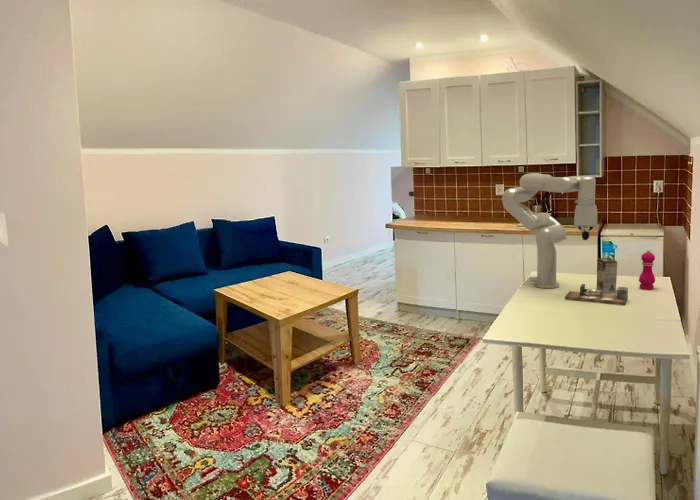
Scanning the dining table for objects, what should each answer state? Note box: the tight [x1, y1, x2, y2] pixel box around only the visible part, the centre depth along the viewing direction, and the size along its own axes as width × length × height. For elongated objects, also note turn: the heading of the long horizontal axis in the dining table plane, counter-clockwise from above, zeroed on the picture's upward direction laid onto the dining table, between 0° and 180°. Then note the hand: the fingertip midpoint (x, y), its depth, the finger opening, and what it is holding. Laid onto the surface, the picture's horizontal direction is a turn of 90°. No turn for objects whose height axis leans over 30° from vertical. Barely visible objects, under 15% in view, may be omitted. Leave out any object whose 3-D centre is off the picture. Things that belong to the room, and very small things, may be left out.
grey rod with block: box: [579, 283, 602, 295], centre depth 262 cm, size 9×8×4 cm
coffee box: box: [596, 257, 618, 294], centre depth 273 cm, size 9×6×16 cm
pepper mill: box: [638, 249, 656, 291], centre depth 273 cm, size 7×7×20 cm
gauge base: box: [564, 286, 629, 306], centre depth 261 cm, size 26×11×6 cm, turn 57°
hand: (585, 239), depth 268 cm, fingers closed
